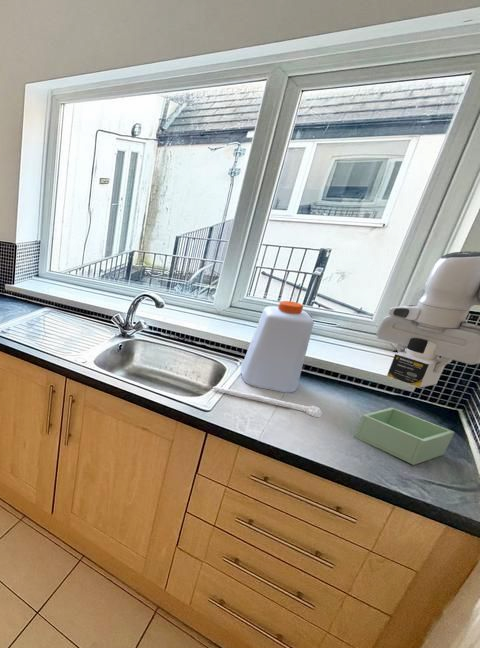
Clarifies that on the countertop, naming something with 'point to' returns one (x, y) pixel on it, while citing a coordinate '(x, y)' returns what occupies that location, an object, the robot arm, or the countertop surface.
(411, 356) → the medicine bottle
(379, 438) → the bin
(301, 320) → the plastic bottle
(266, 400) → the white knobbed stick
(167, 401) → the countertop surface
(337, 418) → the countertop surface
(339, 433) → the countertop surface
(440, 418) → the countertop surface
